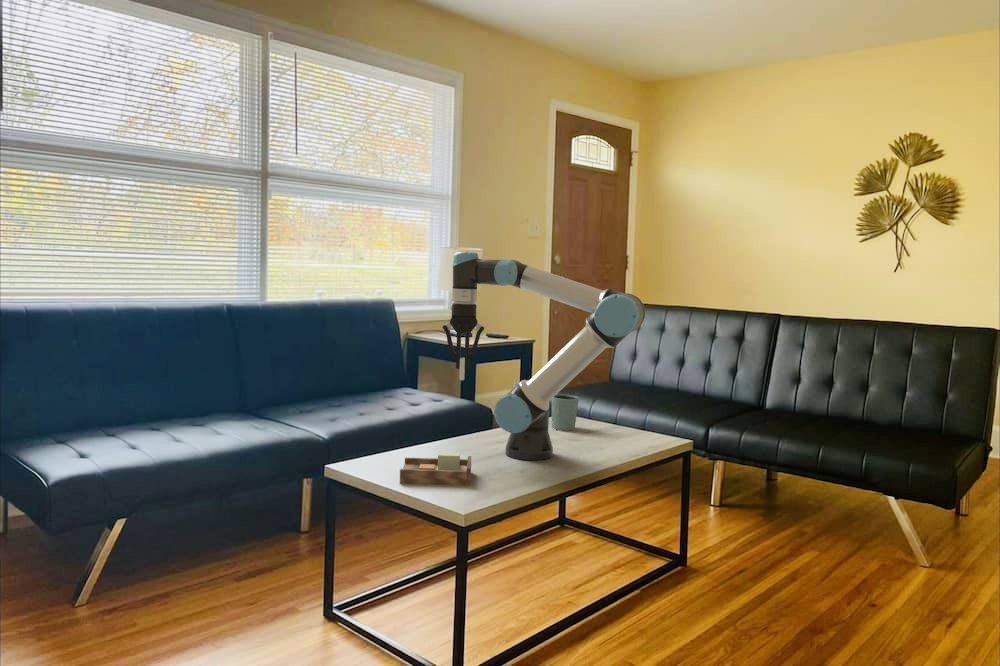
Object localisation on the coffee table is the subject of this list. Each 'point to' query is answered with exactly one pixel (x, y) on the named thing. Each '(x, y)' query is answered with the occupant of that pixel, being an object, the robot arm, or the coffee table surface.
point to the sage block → (448, 460)
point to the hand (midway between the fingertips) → (461, 379)
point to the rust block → (427, 467)
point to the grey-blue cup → (564, 412)
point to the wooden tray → (435, 473)
